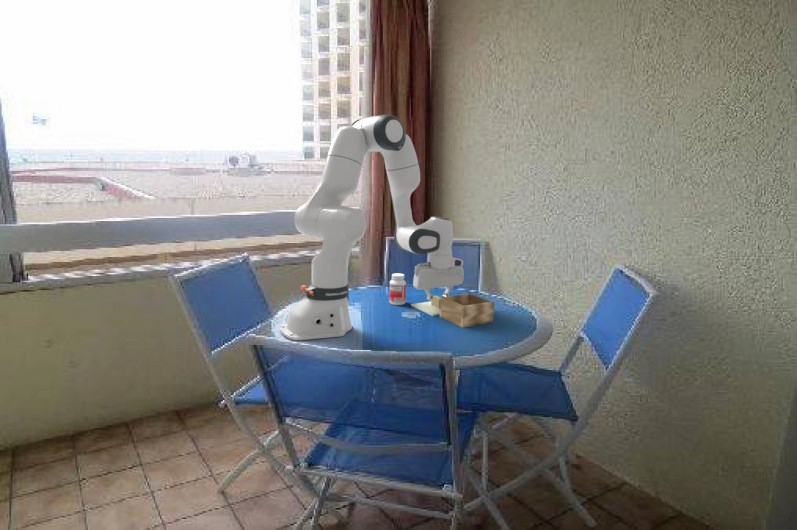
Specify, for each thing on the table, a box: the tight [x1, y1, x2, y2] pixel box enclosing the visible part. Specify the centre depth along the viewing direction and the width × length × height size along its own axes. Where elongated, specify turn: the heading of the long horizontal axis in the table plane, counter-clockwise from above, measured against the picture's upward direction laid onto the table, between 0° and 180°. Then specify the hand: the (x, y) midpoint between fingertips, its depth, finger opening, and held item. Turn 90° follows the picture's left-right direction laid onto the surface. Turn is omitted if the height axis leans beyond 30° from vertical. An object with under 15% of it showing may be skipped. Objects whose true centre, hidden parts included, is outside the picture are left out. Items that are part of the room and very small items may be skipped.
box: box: [439, 292, 495, 329], centre depth 174 cm, size 13×13×7 cm
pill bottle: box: [388, 272, 407, 306], centre depth 191 cm, size 6×6×11 cm
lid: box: [410, 295, 441, 317], centre depth 187 cm, size 14×14×5 cm
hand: (437, 298), depth 186 cm, fingers open, 6 cm apart
